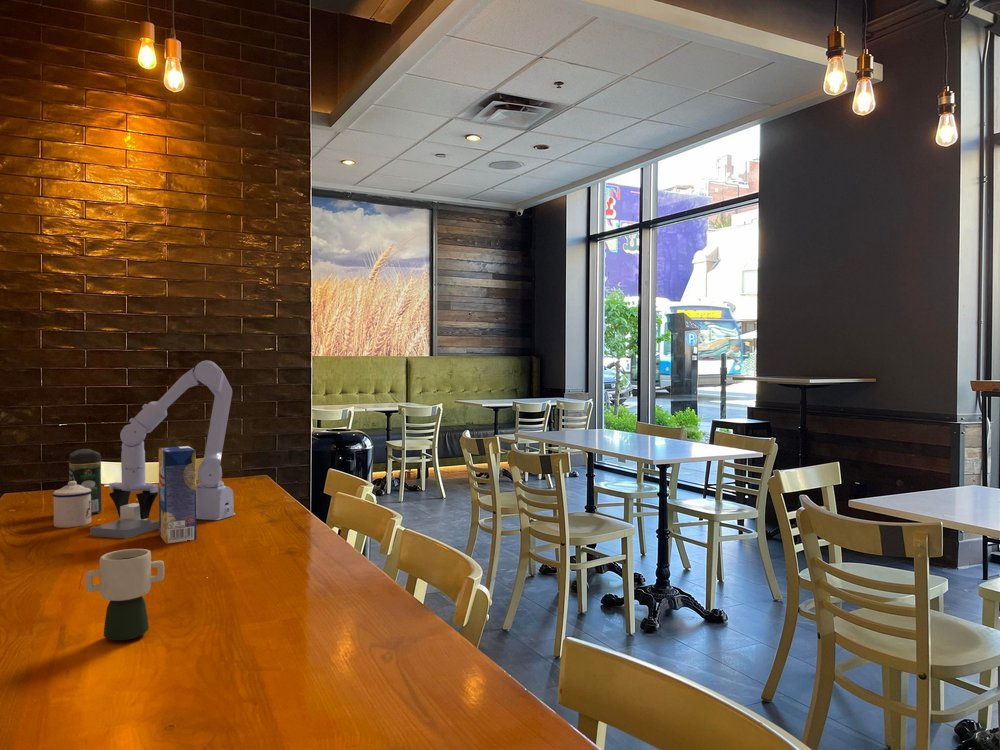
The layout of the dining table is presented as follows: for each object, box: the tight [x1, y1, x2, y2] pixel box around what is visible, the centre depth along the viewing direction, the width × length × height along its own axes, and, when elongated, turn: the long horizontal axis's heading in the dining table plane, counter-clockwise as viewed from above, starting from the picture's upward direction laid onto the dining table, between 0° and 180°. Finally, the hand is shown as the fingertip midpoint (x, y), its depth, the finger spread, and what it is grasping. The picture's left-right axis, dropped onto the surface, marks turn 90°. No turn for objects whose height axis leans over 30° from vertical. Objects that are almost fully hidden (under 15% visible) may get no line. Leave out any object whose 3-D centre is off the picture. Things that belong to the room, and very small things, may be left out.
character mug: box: [85, 548, 165, 641], centre depth 110 cm, size 11×7×13 cm, turn 125°
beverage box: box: [158, 445, 197, 544], centre depth 174 cm, size 7×11×22 cm, turn 33°
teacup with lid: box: [52, 480, 92, 529], centre depth 190 cm, size 12×9×12 cm
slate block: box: [90, 519, 159, 539], centre depth 180 cm, size 11×11×2 cm
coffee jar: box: [68, 448, 103, 516], centre depth 204 cm, size 10×8×19 cm
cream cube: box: [119, 502, 148, 520], centre depth 190 cm, size 5×5×5 cm
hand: (133, 517), depth 190 cm, fingers open, 7 cm apart
